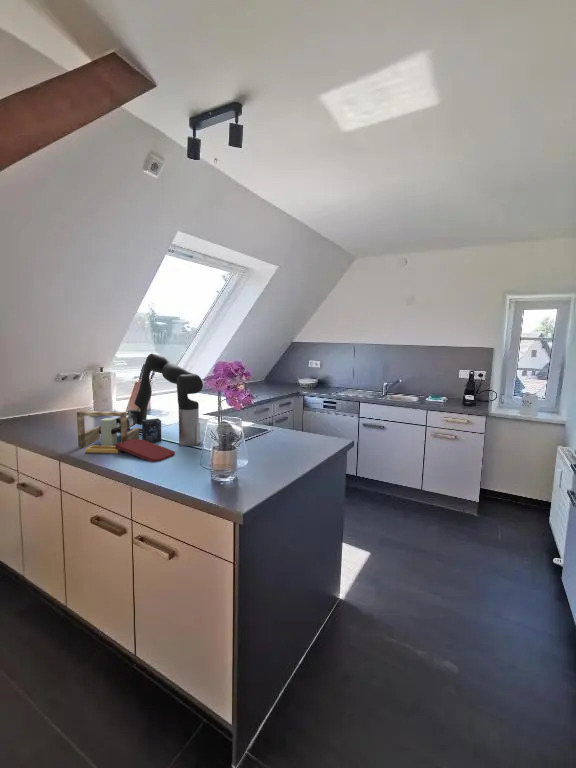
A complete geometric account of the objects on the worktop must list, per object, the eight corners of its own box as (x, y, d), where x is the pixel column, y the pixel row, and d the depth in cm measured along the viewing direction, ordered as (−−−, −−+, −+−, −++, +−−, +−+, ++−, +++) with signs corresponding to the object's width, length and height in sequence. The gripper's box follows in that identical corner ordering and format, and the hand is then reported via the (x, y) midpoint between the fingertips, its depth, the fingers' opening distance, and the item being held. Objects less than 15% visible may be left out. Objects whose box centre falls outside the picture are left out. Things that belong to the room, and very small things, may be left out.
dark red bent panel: (176, 463, 162) (133, 446, 172) (177, 452, 161) (134, 436, 171) (154, 471, 151) (110, 453, 161) (156, 460, 150) (111, 442, 160)
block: (117, 442, 176) (116, 418, 175) (112, 445, 171) (111, 420, 170) (106, 442, 176) (105, 417, 175) (101, 445, 172) (100, 420, 170)
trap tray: (123, 449, 166) (123, 446, 165) (117, 453, 160) (117, 449, 160) (92, 449, 166) (92, 445, 166) (85, 453, 160) (85, 448, 160)
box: (144, 443, 176) (144, 421, 175) (142, 440, 181) (141, 419, 180) (161, 441, 181) (161, 420, 179) (158, 438, 185) (158, 418, 184)
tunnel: (139, 439, 183) (138, 406, 181) (124, 449, 167) (123, 413, 165) (97, 438, 183) (95, 405, 181) (78, 448, 167) (76, 412, 165)
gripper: (108, 416, 187) (90, 423, 170) (136, 416, 187) (121, 424, 170) (108, 430, 188) (90, 439, 171) (137, 431, 188) (121, 440, 171)
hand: (106, 432), depth 171 cm, fingers closed on block, 5 cm apart
